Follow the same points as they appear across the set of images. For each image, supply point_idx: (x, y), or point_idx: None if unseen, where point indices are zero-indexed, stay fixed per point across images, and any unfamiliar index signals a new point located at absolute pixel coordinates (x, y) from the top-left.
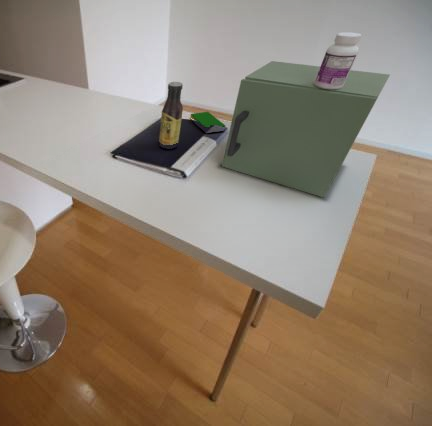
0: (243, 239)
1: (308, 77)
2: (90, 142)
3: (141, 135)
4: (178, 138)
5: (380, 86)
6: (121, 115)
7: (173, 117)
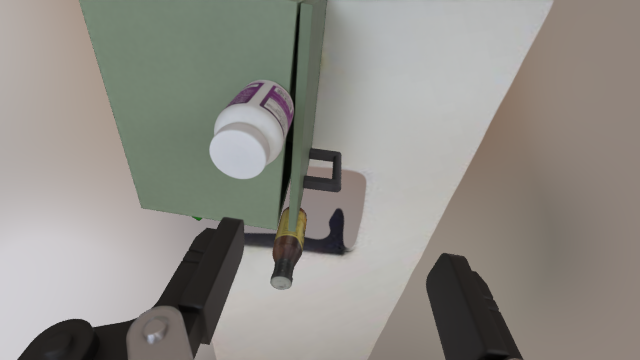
0: (464, 87)
1: None
2: (331, 277)
3: None
4: None
5: None
6: (248, 278)
7: (299, 243)
